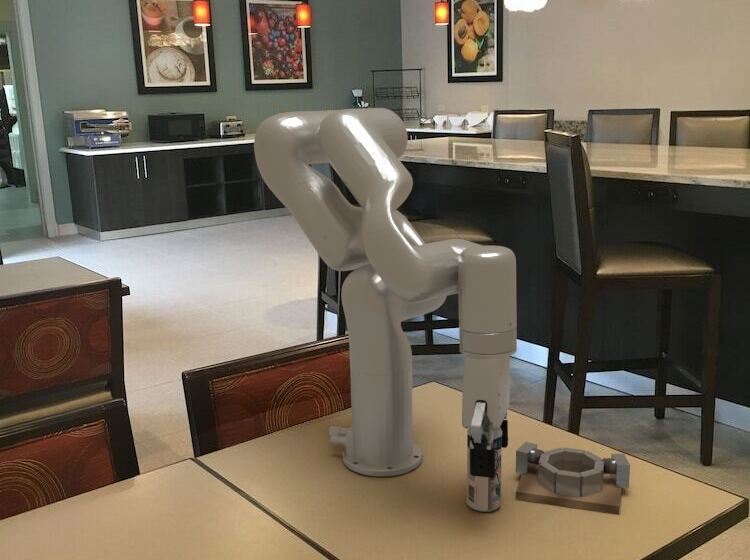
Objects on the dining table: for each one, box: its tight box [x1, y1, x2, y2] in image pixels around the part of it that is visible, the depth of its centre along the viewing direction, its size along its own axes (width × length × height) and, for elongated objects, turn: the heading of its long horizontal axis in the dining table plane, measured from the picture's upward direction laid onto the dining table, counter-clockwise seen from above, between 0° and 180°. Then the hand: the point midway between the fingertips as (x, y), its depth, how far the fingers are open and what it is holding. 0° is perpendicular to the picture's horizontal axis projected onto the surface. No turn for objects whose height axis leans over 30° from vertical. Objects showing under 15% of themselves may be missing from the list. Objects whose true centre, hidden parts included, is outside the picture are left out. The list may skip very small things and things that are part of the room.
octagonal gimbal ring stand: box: [515, 447, 622, 515], centre depth 114 cm, size 14×11×4 cm
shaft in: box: [515, 441, 545, 475], centre depth 117 cm, size 3×4×4 cm
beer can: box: [466, 422, 503, 513], centre depth 109 cm, size 5×5×12 cm
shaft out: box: [602, 453, 631, 489], centre depth 114 cm, size 3×4×4 cm
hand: (489, 460), depth 108 cm, fingers open, 9 cm apart
